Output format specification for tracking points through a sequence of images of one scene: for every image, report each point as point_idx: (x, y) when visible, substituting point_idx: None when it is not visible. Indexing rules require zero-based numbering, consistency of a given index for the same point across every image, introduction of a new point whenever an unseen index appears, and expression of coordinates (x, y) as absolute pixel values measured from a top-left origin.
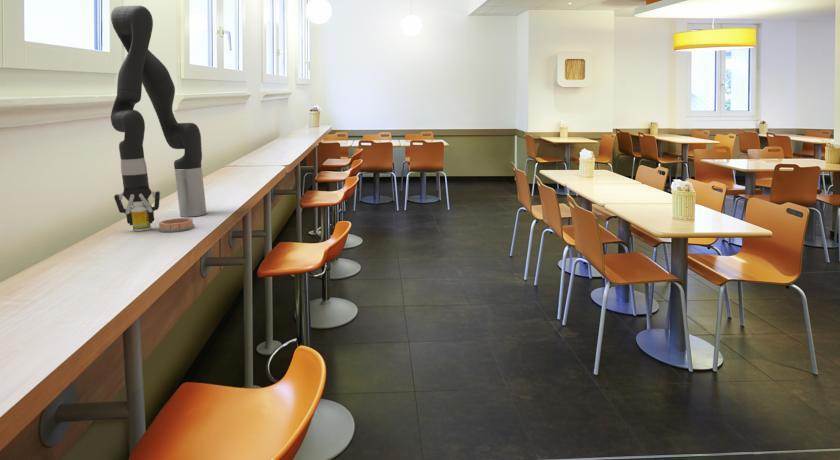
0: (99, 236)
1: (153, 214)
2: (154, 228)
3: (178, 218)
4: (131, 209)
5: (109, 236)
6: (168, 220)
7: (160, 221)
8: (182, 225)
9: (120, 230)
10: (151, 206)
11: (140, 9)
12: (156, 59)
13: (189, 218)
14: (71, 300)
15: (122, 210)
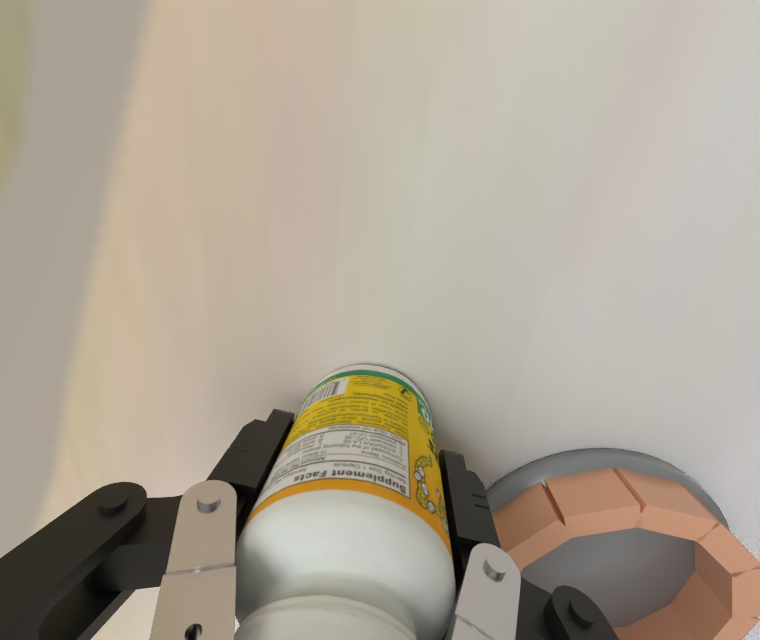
0: (87, 449)
1: (488, 540)
2: (458, 430)
3: (687, 529)
4: (236, 615)
5: (154, 490)
6: (585, 531)
7: (509, 551)
8: None
9: (208, 328)
10: (508, 630)
11: None
12: None
13: (755, 587)
14: None
15: (126, 588)
